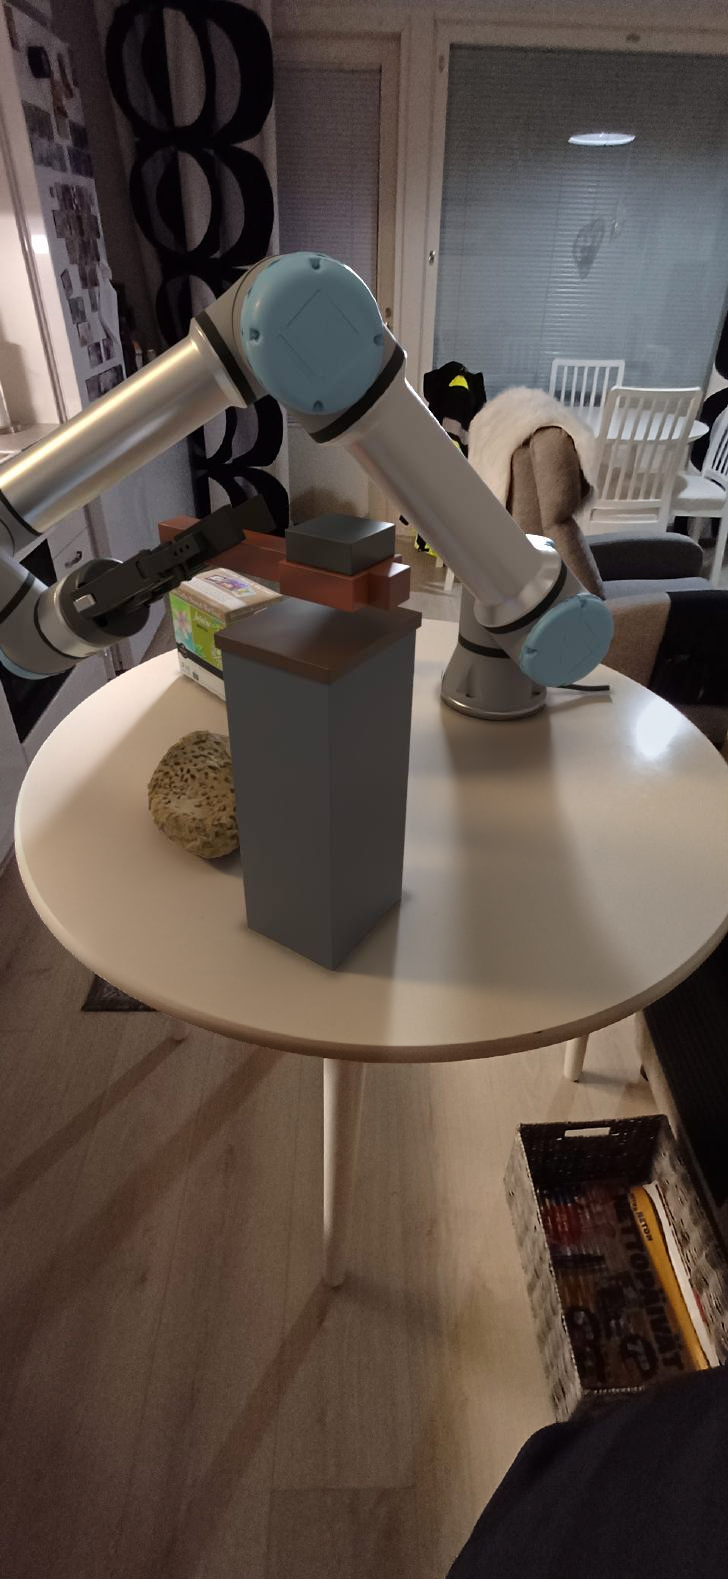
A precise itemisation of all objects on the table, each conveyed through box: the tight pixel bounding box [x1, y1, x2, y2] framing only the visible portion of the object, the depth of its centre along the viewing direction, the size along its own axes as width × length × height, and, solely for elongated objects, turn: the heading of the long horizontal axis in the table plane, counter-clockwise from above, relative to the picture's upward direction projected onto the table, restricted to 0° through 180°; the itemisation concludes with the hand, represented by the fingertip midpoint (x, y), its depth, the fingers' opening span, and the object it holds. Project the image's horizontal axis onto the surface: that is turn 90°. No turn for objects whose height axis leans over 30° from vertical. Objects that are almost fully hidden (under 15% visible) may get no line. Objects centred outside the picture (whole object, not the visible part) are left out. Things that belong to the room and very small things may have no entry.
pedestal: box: [214, 596, 423, 972], centre depth 68 cm, size 11×13×30 cm
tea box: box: [168, 567, 284, 703], centre depth 113 cm, size 15×10×15 cm
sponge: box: [146, 729, 240, 859], centre depth 87 cm, size 13×8×20 cm
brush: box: [157, 511, 412, 613], centre depth 58 cm, size 22×6×5 cm, turn 56°
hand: (250, 517), depth 58 cm, fingers closed on brush, 3 cm apart
